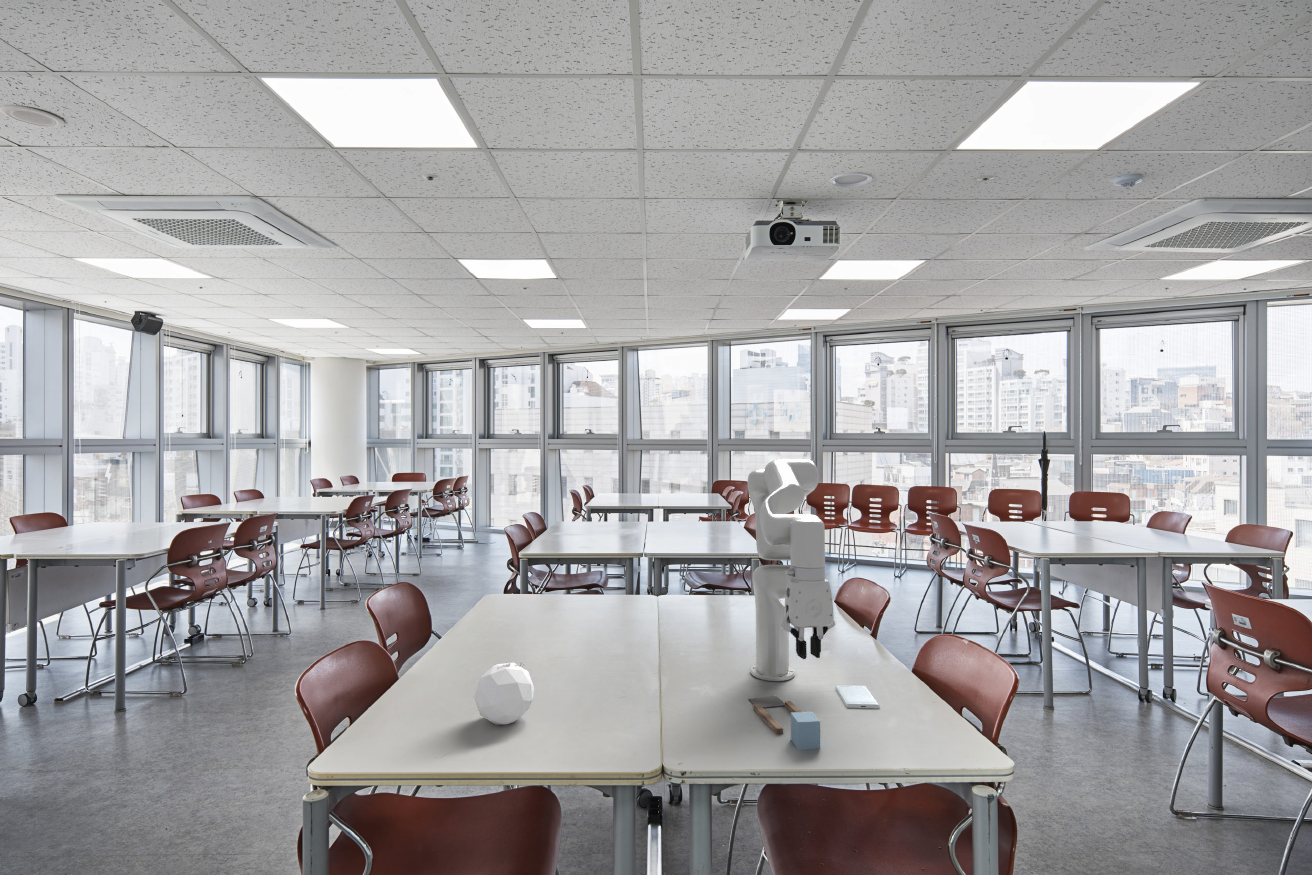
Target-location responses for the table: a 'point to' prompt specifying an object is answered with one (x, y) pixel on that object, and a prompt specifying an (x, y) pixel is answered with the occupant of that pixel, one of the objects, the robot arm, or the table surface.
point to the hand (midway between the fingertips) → (808, 655)
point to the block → (805, 730)
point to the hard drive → (856, 697)
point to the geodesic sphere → (504, 693)
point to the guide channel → (769, 703)
